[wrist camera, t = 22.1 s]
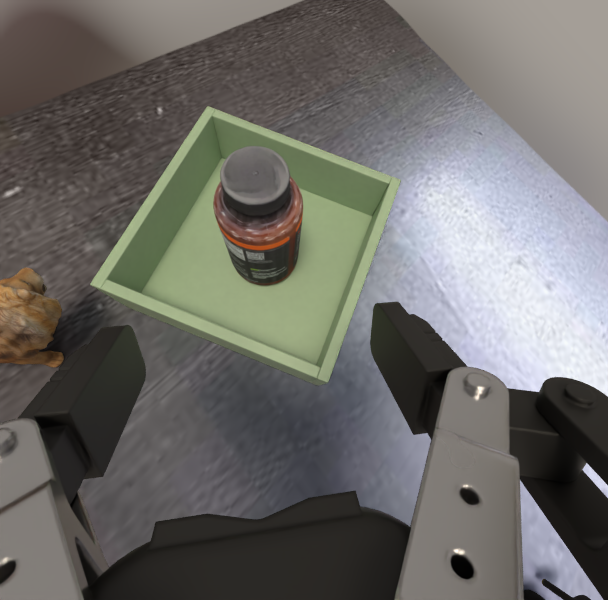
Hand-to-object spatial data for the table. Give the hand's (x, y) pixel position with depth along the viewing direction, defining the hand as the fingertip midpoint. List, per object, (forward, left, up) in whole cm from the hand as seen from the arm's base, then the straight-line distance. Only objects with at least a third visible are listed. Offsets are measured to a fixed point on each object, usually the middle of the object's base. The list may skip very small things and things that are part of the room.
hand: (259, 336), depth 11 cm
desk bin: (-5, +9, -16) cm, 19 cm away
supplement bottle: (-5, +9, -16) cm, 19 cm away
